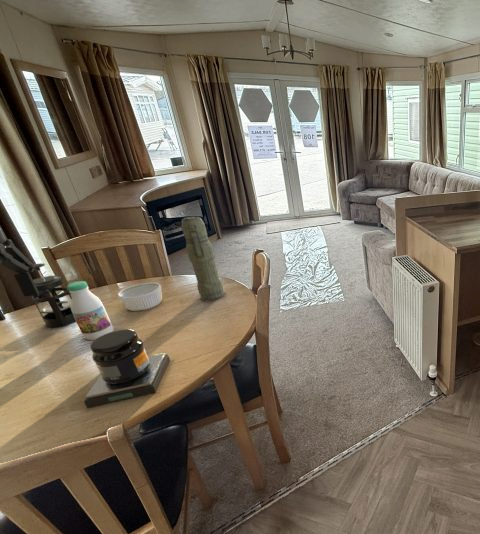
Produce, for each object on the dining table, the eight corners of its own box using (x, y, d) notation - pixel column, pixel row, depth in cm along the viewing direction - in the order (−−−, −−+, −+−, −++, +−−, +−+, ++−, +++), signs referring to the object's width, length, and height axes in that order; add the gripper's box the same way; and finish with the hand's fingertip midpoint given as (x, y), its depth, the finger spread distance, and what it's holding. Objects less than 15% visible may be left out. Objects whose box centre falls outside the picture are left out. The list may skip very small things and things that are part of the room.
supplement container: (159, 359, 103) (146, 326, 98) (136, 384, 94) (121, 349, 89) (121, 362, 102) (106, 329, 97) (93, 387, 92) (75, 352, 87)
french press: (42, 332, 120) (11, 273, 110) (43, 321, 126) (13, 265, 116) (88, 319, 128) (62, 264, 118) (87, 310, 133) (62, 256, 124)
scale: (86, 408, 90) (83, 401, 89) (110, 372, 103) (107, 365, 102) (155, 393, 95) (152, 386, 94) (170, 360, 108) (168, 354, 107)
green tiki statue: (202, 304, 140) (178, 223, 125) (199, 293, 148) (176, 215, 134) (226, 298, 145) (206, 219, 131) (222, 287, 153) (202, 212, 139)
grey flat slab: (86, 398, 90) (85, 396, 89) (108, 365, 101) (108, 363, 101) (151, 384, 95) (150, 382, 94) (165, 355, 106) (164, 352, 106)
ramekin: (154, 294, 146) (149, 279, 144) (172, 301, 141) (167, 286, 138) (117, 307, 136) (110, 292, 133) (135, 316, 130) (128, 300, 128)
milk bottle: (84, 333, 120) (60, 283, 112) (113, 325, 125) (92, 276, 116) (84, 343, 115) (58, 291, 106) (114, 334, 119) (92, 284, 111)
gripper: (-47, 245, 70) (2, 330, 79) (29, 214, 91) (61, 284, 100) (-101, 248, 67) (-45, 336, 76) (-10, 216, 88) (26, 288, 97)
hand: (15, 307), depth 88 cm, fingers open, 13 cm apart
